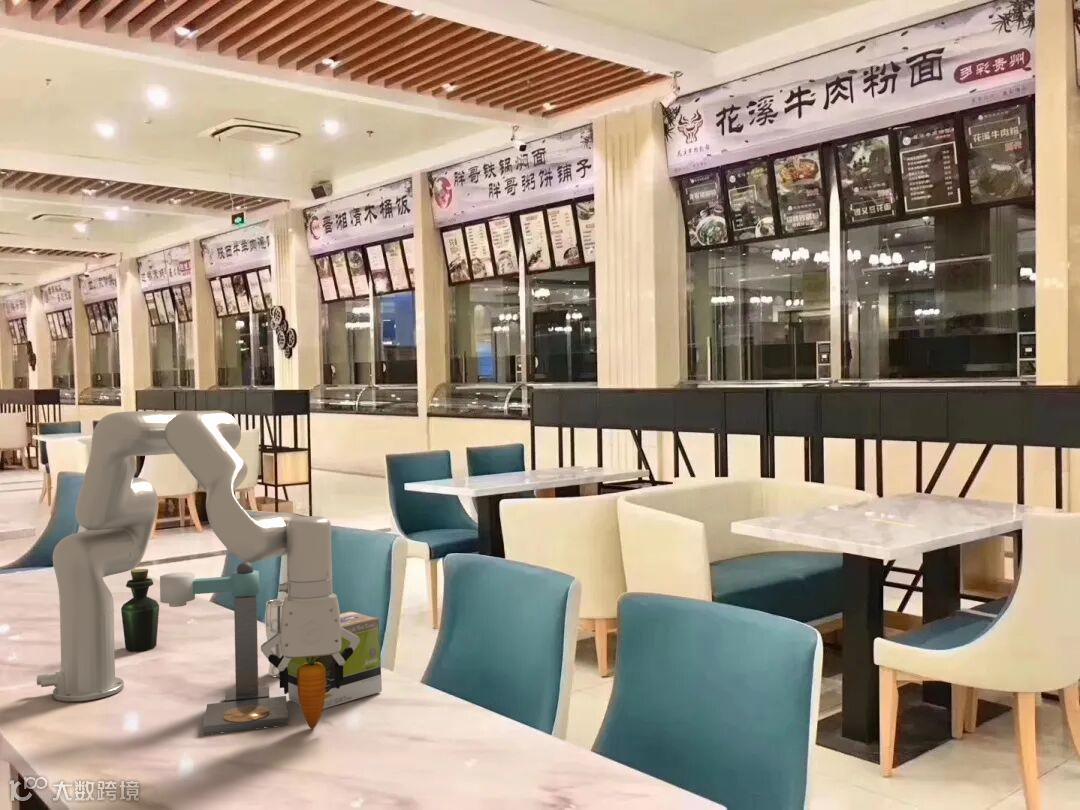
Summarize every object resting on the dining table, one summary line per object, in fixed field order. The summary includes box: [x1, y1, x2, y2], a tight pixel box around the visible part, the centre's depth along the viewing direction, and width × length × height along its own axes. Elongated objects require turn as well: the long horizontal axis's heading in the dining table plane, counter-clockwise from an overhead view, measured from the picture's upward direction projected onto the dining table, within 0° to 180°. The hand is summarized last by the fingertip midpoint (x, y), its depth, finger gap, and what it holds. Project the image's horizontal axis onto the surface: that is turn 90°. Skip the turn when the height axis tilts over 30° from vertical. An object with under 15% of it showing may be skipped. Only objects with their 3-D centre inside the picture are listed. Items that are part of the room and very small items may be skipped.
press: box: [202, 594, 289, 735], centre depth 170 cm, size 14×19×20 cm
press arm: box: [159, 561, 260, 608], centre depth 174 cm, size 18×6×7 cm, turn 107°
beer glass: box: [264, 597, 285, 678], centre depth 194 cm, size 7×7×15 cm
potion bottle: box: [120, 568, 160, 653], centre depth 215 cm, size 8×8×18 cm
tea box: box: [287, 611, 383, 710], centre depth 178 cm, size 15×10×15 cm, turn 134°
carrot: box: [297, 656, 326, 730], centre depth 161 cm, size 5×5×15 cm
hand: (311, 688), depth 161 cm, fingers open, 8 cm apart
